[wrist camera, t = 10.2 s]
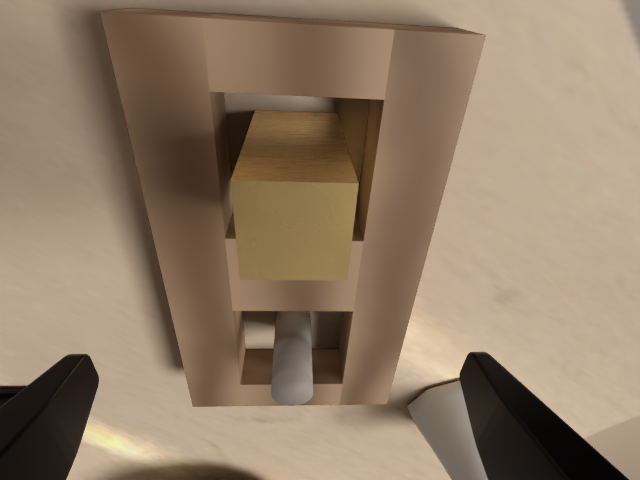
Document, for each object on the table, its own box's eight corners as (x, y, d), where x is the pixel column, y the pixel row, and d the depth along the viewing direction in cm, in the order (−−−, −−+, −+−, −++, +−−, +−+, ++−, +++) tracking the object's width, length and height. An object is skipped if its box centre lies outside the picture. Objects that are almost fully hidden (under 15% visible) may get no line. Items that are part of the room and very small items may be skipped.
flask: (392, 403, 33) (423, 543, 25) (465, 367, 30) (527, 509, 22) (433, 434, 36) (472, 566, 28) (502, 404, 34) (568, 539, 25)
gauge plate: (202, 370, 29) (182, 450, 24) (131, 8, 15) (52, 17, 10) (379, 369, 30) (395, 445, 25) (457, 28, 16) (526, 45, 12)
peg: (258, 185, 20) (239, 279, 14) (255, 110, 18) (230, 180, 11) (331, 186, 21) (347, 280, 14) (336, 113, 18) (358, 183, 12)
